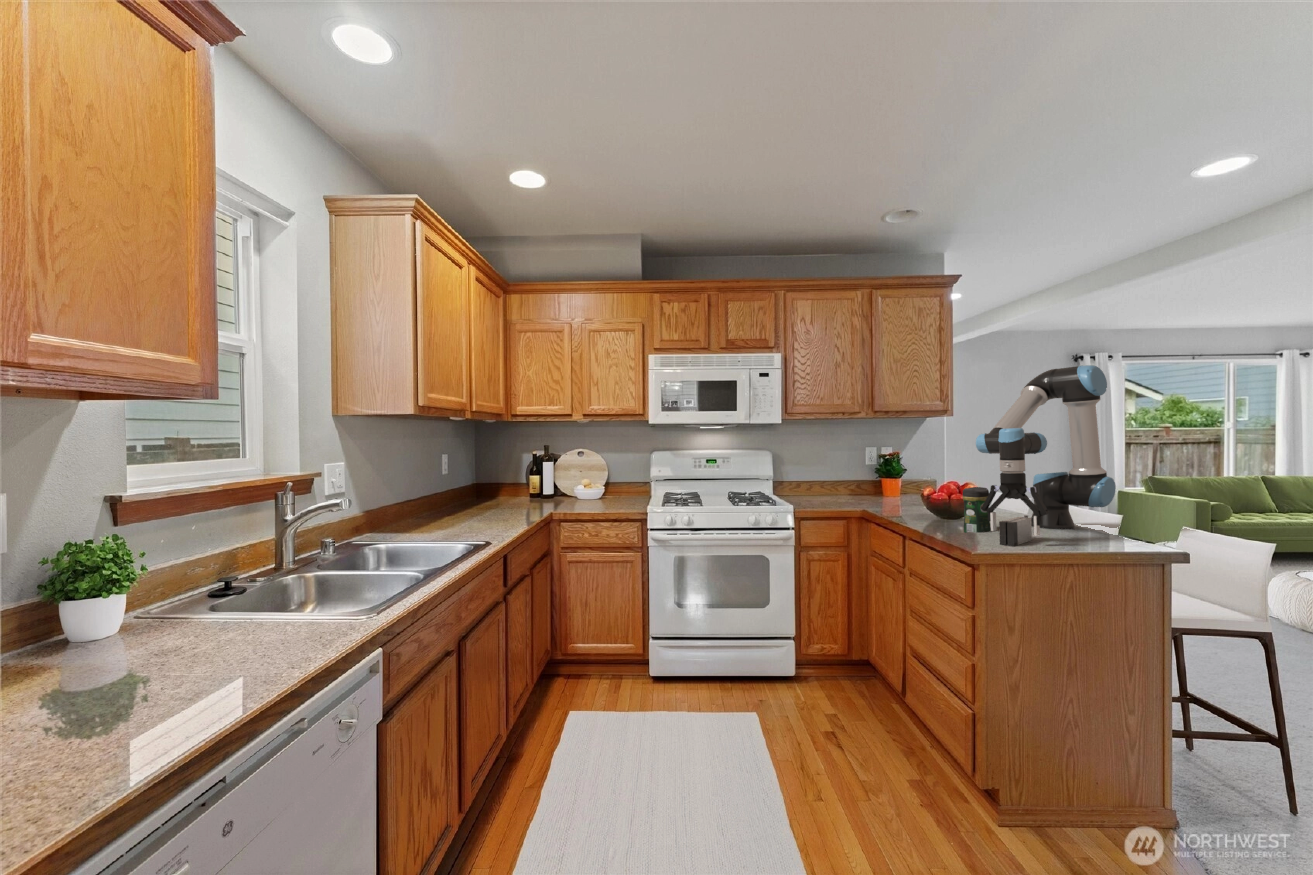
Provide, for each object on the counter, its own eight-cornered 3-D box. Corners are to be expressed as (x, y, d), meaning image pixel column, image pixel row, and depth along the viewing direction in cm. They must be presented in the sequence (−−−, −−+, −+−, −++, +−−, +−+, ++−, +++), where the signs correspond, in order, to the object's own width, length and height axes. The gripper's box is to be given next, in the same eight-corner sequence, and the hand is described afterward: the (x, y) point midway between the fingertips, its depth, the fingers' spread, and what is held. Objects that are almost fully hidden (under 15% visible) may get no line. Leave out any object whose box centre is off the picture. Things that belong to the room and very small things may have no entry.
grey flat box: (1025, 540, 203) (1024, 515, 203) (1035, 541, 200) (1034, 516, 200) (1004, 546, 192) (1003, 520, 192) (1014, 547, 190) (1013, 521, 190)
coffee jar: (975, 531, 228) (974, 485, 228) (994, 534, 220) (993, 487, 221) (959, 533, 224) (958, 487, 224) (978, 536, 216) (976, 488, 216)
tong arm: (1018, 538, 203) (1017, 516, 203) (1024, 539, 202) (1023, 517, 202) (999, 544, 193) (999, 521, 193) (1006, 545, 192) (1005, 522, 192)
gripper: (970, 471, 203) (972, 530, 203) (1050, 474, 183) (1052, 538, 183) (979, 470, 208) (981, 527, 208) (1058, 472, 188) (1060, 535, 188)
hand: (1014, 532), depth 196 cm, fingers open, 13 cm apart
